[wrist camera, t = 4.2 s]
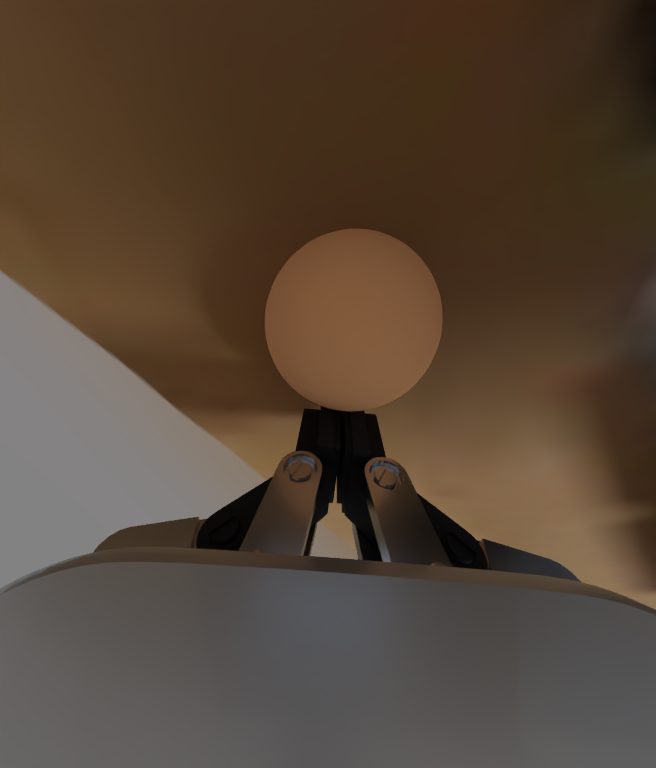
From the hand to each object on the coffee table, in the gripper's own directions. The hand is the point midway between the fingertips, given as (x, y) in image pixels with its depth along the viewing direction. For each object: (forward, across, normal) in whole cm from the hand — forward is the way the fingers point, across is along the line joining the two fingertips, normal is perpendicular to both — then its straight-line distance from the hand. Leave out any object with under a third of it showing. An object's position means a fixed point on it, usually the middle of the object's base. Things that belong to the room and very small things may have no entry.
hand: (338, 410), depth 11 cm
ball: (-1, 0, -4) cm, 4 cm away
